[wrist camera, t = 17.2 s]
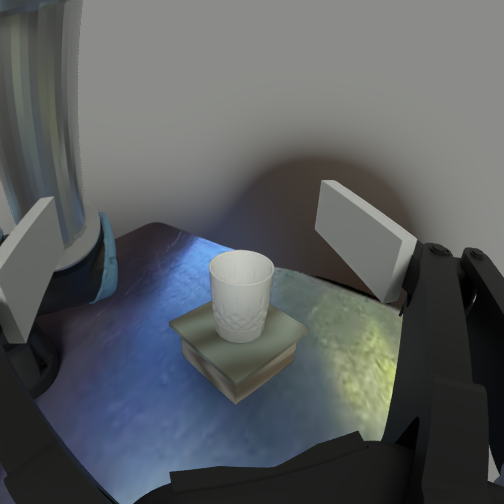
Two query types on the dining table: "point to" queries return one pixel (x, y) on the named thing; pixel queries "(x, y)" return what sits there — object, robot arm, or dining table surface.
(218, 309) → the white cup
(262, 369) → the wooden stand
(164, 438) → the dining table surface
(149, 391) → the dining table surface
